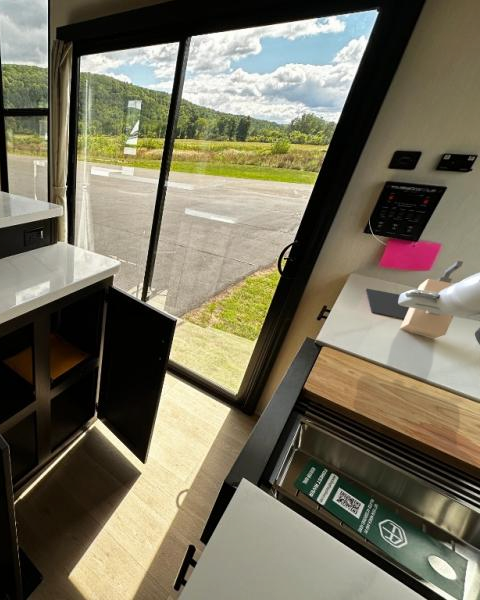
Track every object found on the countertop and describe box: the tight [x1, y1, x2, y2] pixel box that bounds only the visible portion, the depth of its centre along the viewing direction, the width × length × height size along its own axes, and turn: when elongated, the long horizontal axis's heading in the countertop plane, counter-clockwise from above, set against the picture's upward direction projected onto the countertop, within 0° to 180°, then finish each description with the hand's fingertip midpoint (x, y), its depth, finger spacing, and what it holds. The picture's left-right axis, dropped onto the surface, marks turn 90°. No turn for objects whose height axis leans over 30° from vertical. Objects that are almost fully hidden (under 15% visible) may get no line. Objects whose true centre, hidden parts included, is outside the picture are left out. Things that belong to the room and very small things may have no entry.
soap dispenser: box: [399, 260, 464, 339], centre depth 101 cm, size 13×9×22 cm
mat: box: [365, 288, 410, 321], centre depth 120 cm, size 14×20×1 cm
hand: (432, 312), depth 99 cm, fingers closed
